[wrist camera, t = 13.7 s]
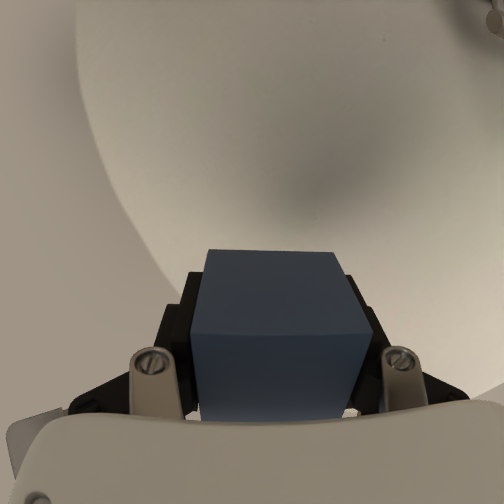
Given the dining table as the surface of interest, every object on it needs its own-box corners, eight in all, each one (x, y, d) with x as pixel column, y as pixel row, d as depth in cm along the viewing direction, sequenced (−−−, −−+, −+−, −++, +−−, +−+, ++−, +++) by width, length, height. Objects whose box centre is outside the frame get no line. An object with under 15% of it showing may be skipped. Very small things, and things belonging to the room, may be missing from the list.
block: (211, 344, 14) (202, 432, 10) (208, 248, 12) (189, 332, 8) (316, 344, 14) (336, 429, 10) (333, 251, 12) (374, 332, 8)
